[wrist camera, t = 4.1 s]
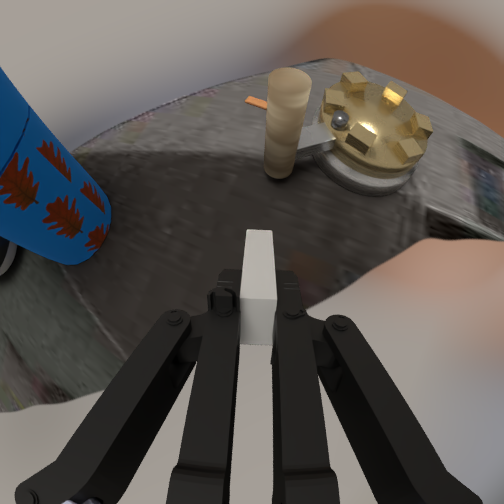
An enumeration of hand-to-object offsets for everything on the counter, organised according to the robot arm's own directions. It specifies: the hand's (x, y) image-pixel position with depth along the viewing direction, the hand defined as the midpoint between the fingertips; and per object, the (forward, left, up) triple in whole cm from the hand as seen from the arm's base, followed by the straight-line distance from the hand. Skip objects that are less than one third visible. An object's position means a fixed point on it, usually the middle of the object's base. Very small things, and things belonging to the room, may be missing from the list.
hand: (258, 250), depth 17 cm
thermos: (+22, -5, -11) cm, 26 cm away
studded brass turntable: (-9, -16, -10) cm, 21 cm away
